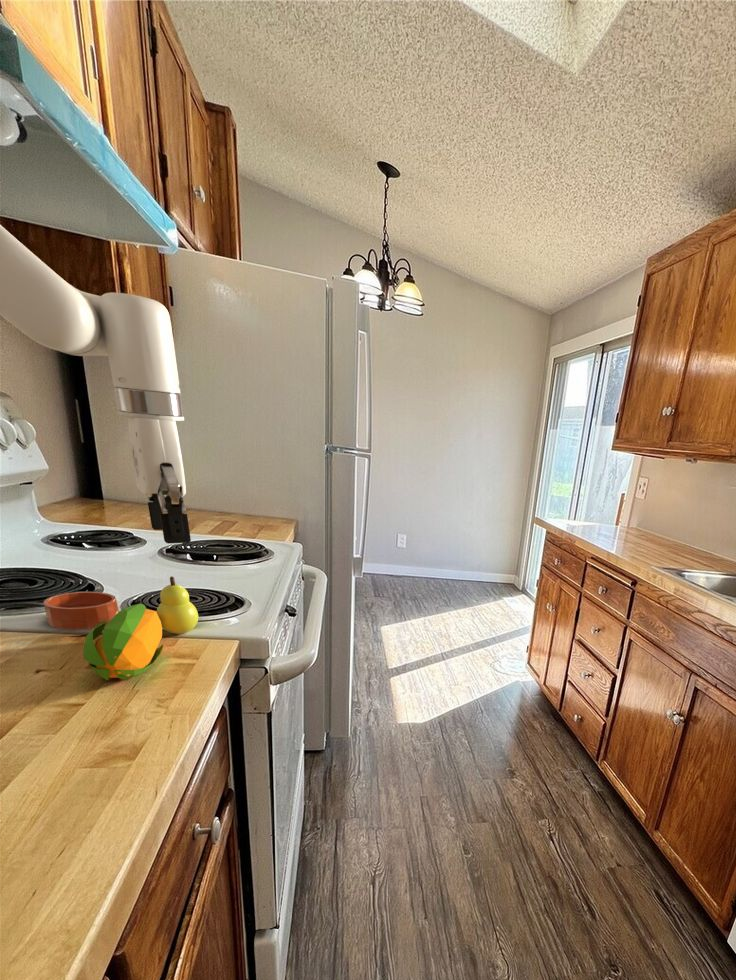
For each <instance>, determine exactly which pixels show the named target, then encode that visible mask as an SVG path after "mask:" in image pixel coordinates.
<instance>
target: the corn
mask: <svg viewBox="0 0 736 980" xmlns="http://www.w3.org/2000/svg"><path fill="white" fill-rule="evenodd" d="M156 611H157V610H152V609H149V608H147V607H146V605H144V604H143V603H137V604H133V605H130V606H127V607H124V608H122V609H121V610H119V613H117V614H116V615H115V616H114V617H113V618H112V619H111V621H110V622H109V623H108V624H107V625H106V626H105V624H106V623H107V621H108V620H106V621H103V622H101V623H99V624H98V625H97V626H96V627H95V628H92V630H90V632H89V633H88V635H87V634H86V635H87V636H86V637H84V642H83V651H82V656H83V659H84V660H85V661H86V662H87V663H88V665H89V666H90V668H91V669H92V671H93V672H94V674H96V676H98V677H100V678H102V679H105V680H106V681H109V680H110V679H112V678H113V679H114V678H116V679H117V678H118V679H119V680H124V681H128V680H131V679H133V678H135V677H137V676H140V675H142V674H144V673H145V672H146V671H147V670H148V669H149V668H150V667H151V666H152V665H153V664H154V662H155V661H156V660H157V658H158V657H159V656H160V655H161V653H162V650H163V648H164V644H161V645H160V646H159V644H160V642H161V640H162V637H163V628H162V625H161V621H160V619H159V616H158V614H157V612H156ZM102 633H103V634H102ZM98 637H99V638H98ZM97 638H98V639H97ZM96 639H97V640H96ZM95 640H96V641H95ZM158 646H159V647H158Z"/></svg>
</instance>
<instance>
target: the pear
mask: <svg viewBox="0 0 736 980" xmlns="http://www.w3.org/2000/svg"><path fill="white" fill-rule="evenodd" d="M169 582H170V584H168V585H166V586H164V587H163V588H162V590H161V591H160V594H159V599H160V601H161V602H160V604H159V605H158V607H157V608H156V610H155V611H156V612H157V614H158V616H159V619H160V621H161V625H162V630H164V631H166V632H168V633H171V634H174V635H182V634H186V633H188V632H191V631H192V630H193V629H195V627H196V626H197V624H198V622H199V613H198V612H199V611H198V609H197V608H196V606H195V605H194V604H193V603H192V602H190V594H189V592H188V590H187V589H186V588H185V587H183V586H181V585H179V584H176V579H175V577H174V576H170V577H169Z"/></svg>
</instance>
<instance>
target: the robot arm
mask: <svg viewBox="0 0 736 980" xmlns="http://www.w3.org/2000/svg"><path fill="white" fill-rule="evenodd" d="M0 316H1V317H2V318H3V319H4V320H6V321H7V322H8V323H9V324H11V325H12V326H13V327H14V328H16V329H17V330H18V331H20V332H21V333H23V334H24V335H25V336H27V337H28V338H29V339H31V340H33V341H34V342H35V343H37V344H38V345H41V346H43V347H46V348H48V349H51V350H54V351H58V352H61V353H64V354H67V355H70V356H76V357H77V356H78V357H108V362H109V368H110V374H111V380H112V385H113V390H114V395H115V402H116V407H117V413H118V416H120V417H121V416H122V417H127V425H128V437H129V445H130V449H131V457H132V464H133V472H134V478H135V486H136V488H137V489H138V490H139V491H140V492H141V493H142V494H143V495H145V496H146V497H147V500H148V501H147V507H148V513H149V518H150V525H151V528H152V530H154V531H162V535H163V541H164V543H166V544H189V543H191V541H192V538H191V532H190V525H189V518H188V513H187V509H186V505H185V502H184V497H185V496H186V494H187V486H186V485H187V484H186V476H185V468H184V461H183V456H182V448H181V443H180V436H179V433H178V427H177V422H184V421H185V415H184V407H183V401H182V395H181V387H180V386H181V385H180V379H179V371H178V365H177V356H176V350H175V343H174V336H173V329H172V328H173V327H172V321H171V316H170V313H169V311H168V309H167V307H166V306H165V305H164V304H163V303H162V302H159V301H158V300H156V299H152V298H149V297H145V296H142V295H137V294H131V293H126V292H125V293H124V292H106V293H103V294H102V295H97V294H93V293H89V292H86V291H82V290H80V289H78V288H76V287H75V286H73V285H72V284H70V283H69V282H67V281H66V279H65V280H64V278H62V277H61V276H60V275H59V274H57V273H56V272H55V271H54V270H53V269H52V268H51V267H50V266H48V264H46V263H45V262H44V261H42V259H40V258H39V257H38V256H37V255H36V254H34V253H33V252H32V251H31V250H30V249H29V248H28V247H26V245H24V244H23V243H22V242H20V241H19V240H18V239H17V238H16V237H15V236H14V235H13V234H11V233H10V232H9V231H8V230H7V229H6V228H5V227H4V226H2V224H0Z"/></svg>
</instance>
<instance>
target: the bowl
mask: <svg viewBox="0 0 736 980" xmlns="http://www.w3.org/2000/svg"><path fill="white" fill-rule="evenodd" d="M43 606H44V611H45V614H46V619H47V623H48V625H49V626H50V627H52V628H56V629H61V630H70V631H71V630H74V631H75V630H76V631H78V630H91V629H94V628H95V627H96V626H97V625H98V624H99V623H101V622H103V621H106V620H108V621H107V623H106V624H105V626H106V625H107V624H108V623H109V622H110V621H111V619H112V618H113V617H114V616H115V615H116V614H117V613H119V612H120V610H119V606H118V601H117V598H116V596H115V595H113V594H111V593H107V592H106V593H105V592H101V591H99V592H98V591H75V592H66V593H61V594H56V595H52V596H50V597H47V598H46V599H45V600H43ZM88 634H89V633H88ZM88 634H78V635H69V636H67V637H68V638H85V637H86V636H87V635H88ZM101 635H103V632H102V634H101Z"/></svg>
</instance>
